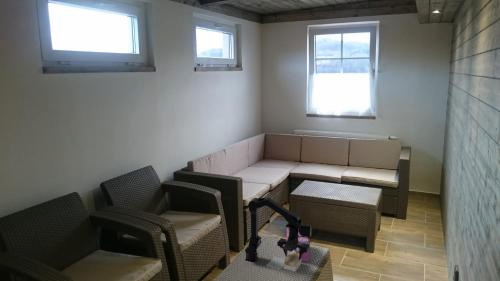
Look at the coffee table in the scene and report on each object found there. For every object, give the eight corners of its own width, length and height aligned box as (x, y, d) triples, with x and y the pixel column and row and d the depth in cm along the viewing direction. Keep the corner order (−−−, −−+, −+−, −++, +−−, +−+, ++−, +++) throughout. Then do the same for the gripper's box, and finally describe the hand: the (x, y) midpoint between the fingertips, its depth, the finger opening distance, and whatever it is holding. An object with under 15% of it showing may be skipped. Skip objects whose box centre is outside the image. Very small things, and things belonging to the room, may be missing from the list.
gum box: (285, 244, 253) (285, 226, 250) (296, 243, 254) (296, 224, 252) (298, 262, 230) (298, 242, 227) (310, 261, 232) (310, 240, 229)
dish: (284, 269, 222) (284, 263, 221) (290, 261, 231) (290, 256, 230) (295, 272, 219) (295, 266, 218) (301, 264, 228) (301, 259, 227)
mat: (265, 266, 225) (265, 266, 225) (274, 257, 236) (274, 256, 236) (279, 270, 221) (279, 269, 221) (287, 260, 232) (287, 259, 232)
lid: (284, 264, 221) (284, 259, 220) (291, 256, 230) (291, 251, 230) (294, 267, 218) (294, 262, 217) (301, 258, 227) (301, 254, 227)
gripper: (273, 236, 218) (273, 260, 221) (303, 243, 209) (303, 268, 212) (281, 229, 228) (280, 252, 231) (310, 235, 219) (309, 259, 222)
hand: (292, 258), depth 224 cm, fingers open, 8 cm apart
